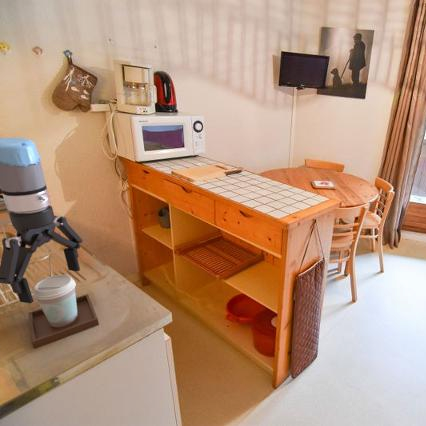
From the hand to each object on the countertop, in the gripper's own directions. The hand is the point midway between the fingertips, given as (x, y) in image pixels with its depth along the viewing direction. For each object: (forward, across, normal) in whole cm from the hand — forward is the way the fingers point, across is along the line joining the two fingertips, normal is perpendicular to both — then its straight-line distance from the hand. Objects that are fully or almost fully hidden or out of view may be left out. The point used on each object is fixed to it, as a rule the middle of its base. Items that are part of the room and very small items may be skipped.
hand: (52, 284), depth 80 cm
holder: (+12, 0, 0) cm, 12 cm away
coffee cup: (+12, 0, -1) cm, 12 cm away
